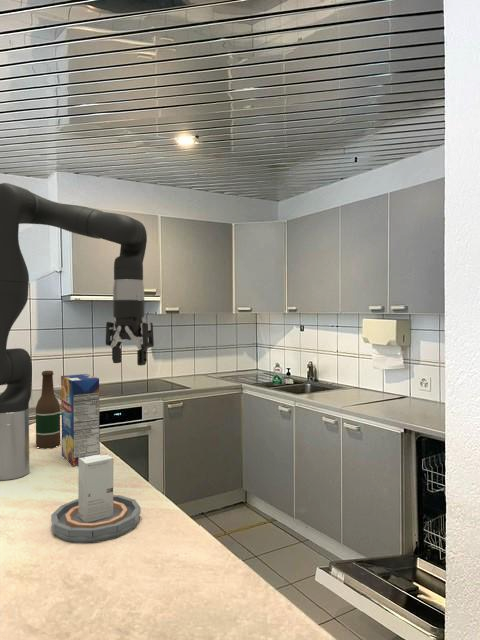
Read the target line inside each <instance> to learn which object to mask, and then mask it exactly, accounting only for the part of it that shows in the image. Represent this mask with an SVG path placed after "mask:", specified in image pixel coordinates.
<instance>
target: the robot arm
mask: <svg viewBox="0 0 480 640" xmlns="http://www.w3.org/2000/svg"><path fill="white" fill-rule="evenodd" d="M25 224H26V225H27V224H28V225H43V226H48V227H49V226H50V227H54V228H55V227H56V228H58V229H60V230H64V231H65V232H69V233H73V234H76V235H79V236H84V237H88V238H93V239H99V240H101V239H102V240H105V241H108V242H112V243H115V244H118V245H120V250H119V256H116V258H115V259H114V262H113V287H112V311H113V313H112V316H113V318H115V321H106V322H105V323H106V325H105V345H106V346H109V347H110V348H111V359H112V363H113V364H121V362H122V348H121V347H122V345H123V343H124V342H126V340H127V341H131V342H132V343H134V344H135V346H136V347H137V349H138V350H137V351H136V353H137V354H136V355H137V366H146V364H147V361H148V359H147V358H148V355H147V354H148V351H147V350H148V349H150V348H153V347H154V346H155V343H154V342H155V341H154V323H153V322H143V318H144V317H145V285H144V258H145V255H146V250H147V242H148V237H147V236H148V233H147V229H146V227H145V226H144V224H143V223H142V222H141V221H139V220H137V219H135V218H133V217H131V216H129V215H125V214H121V213H115V212H108V211H107V212H106V211H103V210H99V209H97V208H96V209H95V208H91V207H87V206H82V205H77V204H68V203H62V202H56V201H53V200H49V199H47V198H46V197H42V196H41V195H38V194H35V193H34V192H32V191H30V190H29V189H28V188H24V187H21V186H18V185H14V184H11V183H8V182H7V183H6V182H2V183H0V386H5V385H6V388H5V389H4V391H2V392H1V394H0V481H7V480H15V479H18V478H22V477H24V476H27V475H28V474H29V473H30V415H29V414H30V412H29V411H30V410H29V409H30V407H29V406H30V405H29V404H30V403H29V402H30V400H31V396H32V382H33V381H32V380H33V379H32V378H33V362H32V359H31V355H30V354H29V352H28V351H27V350H26V349H24V348H7V345H8V340H9V339H8V338H9V335H10V332H11V329H12V328H13V325H14V324H15V322H16V321H17V319H18V318H19V316H20V315H21V314H22V312H23V310H24V309H25V307H26V305H27V302H28V299H29V286H30V282H29V281H30V276H29V275H30V274H29V270H28V267H27V264H26V260H25V258H24V255H23V253H22V250H21V247H20V244H19V243H20V241H19V230H20V229H19V228H20V225H25Z"/></svg>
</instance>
